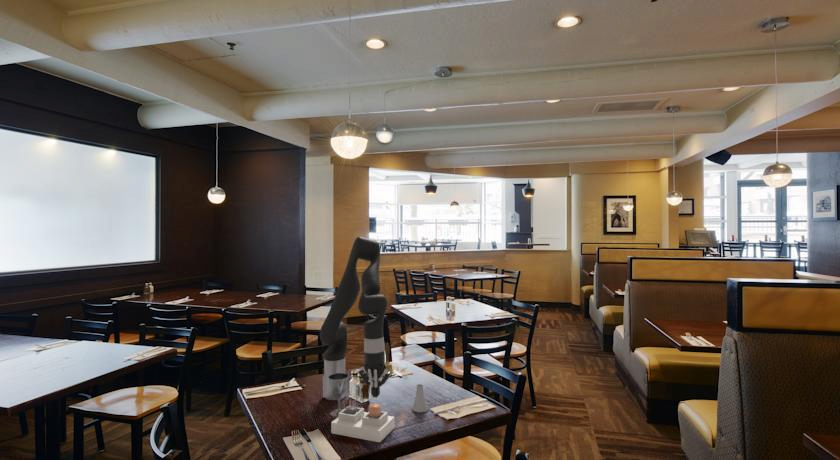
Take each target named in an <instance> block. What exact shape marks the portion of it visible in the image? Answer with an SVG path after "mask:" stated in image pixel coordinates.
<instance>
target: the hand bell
mask: <svg viewBox="0 0 840 460" xmlns="http://www.w3.org/2000/svg"><path fill="white" fill-rule="evenodd" d="M389 343H390V342H389ZM389 343H388V342H385V345H384V346H385V366H386V370H387V371H388V372H391V373H392V374H393V373H394V372H395V371H394V368H393V364H392V363H391V362H390V353H391V349H390V345H389ZM392 374H391V375H392ZM391 375H390V376H391ZM383 376H384V373H383V374H382V376H381V377H383ZM391 377H392V376H391Z"/></svg>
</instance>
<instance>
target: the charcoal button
mask: <svg viewBox="0 0 840 460" xmlns="http://www.w3.org/2000/svg"><path fill="white" fill-rule="evenodd" d="M349 406H350V407H348V406H346V407H347V408H346V407H345V408H346V409H345V408H344V409H345V411H346V414H352V415H354V414H356V413H357V407H358V406H354V405H349Z"/></svg>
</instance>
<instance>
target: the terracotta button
mask: <svg viewBox="0 0 840 460" xmlns="http://www.w3.org/2000/svg"><path fill="white" fill-rule="evenodd" d="M381 411H382V405H381V404H379V403H371V404H369V405H368V412H369V416H371V417H377V416H380V415H381Z"/></svg>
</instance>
